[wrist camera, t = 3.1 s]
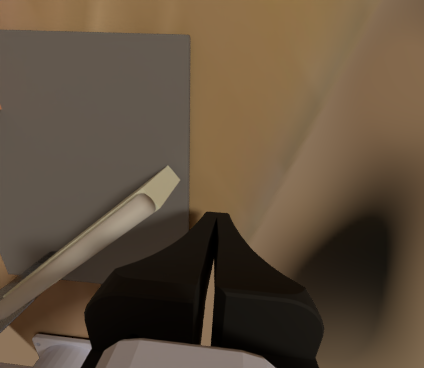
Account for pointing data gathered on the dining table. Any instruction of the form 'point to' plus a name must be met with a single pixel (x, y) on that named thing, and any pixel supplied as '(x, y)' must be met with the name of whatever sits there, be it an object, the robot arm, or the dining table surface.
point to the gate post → (2, 324)
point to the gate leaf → (92, 240)
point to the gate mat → (90, 141)
